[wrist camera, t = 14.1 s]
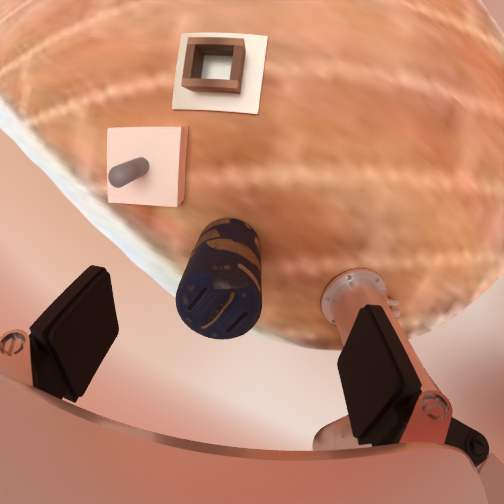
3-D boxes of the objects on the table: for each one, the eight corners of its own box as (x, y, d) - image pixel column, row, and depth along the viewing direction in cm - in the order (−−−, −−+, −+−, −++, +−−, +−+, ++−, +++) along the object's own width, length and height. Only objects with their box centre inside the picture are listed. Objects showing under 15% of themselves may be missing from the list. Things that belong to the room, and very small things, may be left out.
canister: (188, 238, 43) (151, 308, 27) (233, 202, 40) (217, 259, 24) (227, 279, 46) (213, 360, 30) (272, 248, 44) (281, 325, 28)
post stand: (188, 126, 35) (164, 128, 26) (184, 199, 40) (161, 225, 30) (120, 126, 35) (80, 132, 25) (119, 195, 40) (83, 218, 30)
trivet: (267, 37, 29) (267, 36, 29) (257, 114, 35) (257, 114, 34) (183, 34, 29) (181, 33, 28) (173, 109, 34) (171, 109, 33)
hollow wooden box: (245, 50, 30) (244, 38, 24) (240, 93, 33) (237, 88, 27) (198, 48, 29) (188, 37, 24) (192, 91, 32) (181, 86, 27)
